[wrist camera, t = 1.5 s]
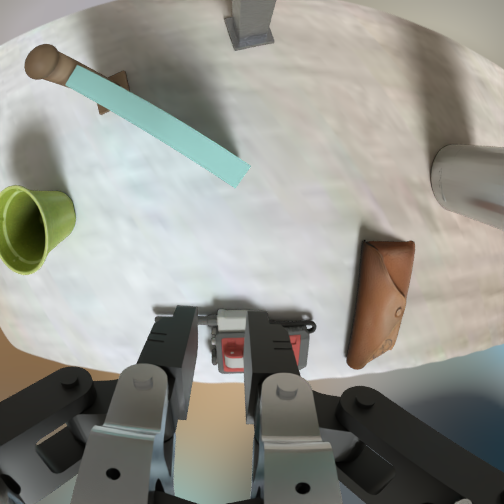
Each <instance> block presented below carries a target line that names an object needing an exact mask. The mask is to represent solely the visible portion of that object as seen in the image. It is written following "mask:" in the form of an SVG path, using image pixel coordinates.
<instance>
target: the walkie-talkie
mask: <svg viewBox="0 0 504 504" xmlns="http://www.w3.org/2000/svg"><path fill="white" fill-rule="evenodd" d="M246 315H247V310H225V309H218V315H208V316H198V325H208V326H216V325H217V327H215V328H212V335H215V336H216V337H215V338H212V345H215V346H216V349H213V350H212V364H213V365H217V363H218V370H219V372H220V373H222V374H229V373H244V361H243V353H244V338H245V326H246ZM162 317H166V316H157V317H155V322H157V321H158V320H160V319H161V318H162ZM169 318H173V317H169ZM268 319H269V318H268ZM269 324H281V325H282V326H283V327H284V328H285V330H286V331H287V332H288V333H289V337H290V340H291V344H292V347H293V351H294V355H295V358H296V362H297V365H298V369H299V370H301V369H303V368H304V367H306V365H307V356H308V348H309V334H310V333H313V332H314V331H315V330H316V325H315V323H314V322H313V321H294V322H293V321H291V322H289V321H287V322H275V321H271V320H269ZM306 325H312V328H310V329H307V327H306ZM216 350H217V351H216Z"/></svg>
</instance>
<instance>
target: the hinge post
mask: <svg viewBox="0 0 504 504" xmlns="http://www.w3.org/2000/svg"><path fill="white" fill-rule="evenodd" d="M77 65H79V66H81V67H83V68H85V69H87V70H89V71H91V72H93V73H95V74H97V75H99V76H101V77H103V78H105V79H107V80H109V81H110V82H112V83H114V84H116V85H118V86H120V87H122V88H124V89H125V90H127V91H129V92H130V90H129V85H128V81H127V77H126V72H125V71H124V70H123V71H121V72H119V73H117V74H115V75H113V76H110V77H108V78H107V77H105V76H104V75H102V74H100V73H98V72H97V71H95V70H93V69H91V68H89V67H87V66H85V65H84V64H82V63H80V62H78V61H76V60H74V59H72V58H70V57H68V56H66V55H64V54H63V53H61V52H59V51H58V50H57V49H56V48H55V47H54V46H53V45H50V44H42V45H39V46H37V47H35V48H34V49H33V50H32V51H31V52H30V53H29V54H28V56H27V58H26V60H25V72H26V74H27V75H28V76H29V77H30V78H32V79H36V80H39V79H44V80H47V81H50V82H53V83H56V84H59V85H62V86H65V87H68V86H66V85H65V84H66V83H67V81H68V79H69V78H70V76H71V74H72V73H73V71H74V69H75V68H76V66H77ZM68 88H69V87H68ZM97 105H98V109H99V114H101V115H102V114H105V113H107V112H109V111H110V110H109V109H107V108H105V107H103V106H102V105H100V104H98V103H97Z"/></svg>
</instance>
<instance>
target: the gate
mask: <svg viewBox="0 0 504 504" xmlns="http://www.w3.org/2000/svg"><path fill="white" fill-rule="evenodd" d="M65 85H66V86H68V87H69V88H71V89H73V90H75V91H77V92H79V93H80V94H82V95H84V96H86V97H87V98H89V99H91V100H93V101H95V102H96V103H98V104H100V105H102V106H103V107H105V108H107V109H109V110H110V111H112V112H114V113H115V114H117V115H119V116H121V117H122V118H124V119H126V120H127V121H129V122H131V123H132V124H134V125H136V126H137V127H139V128H141V129H142V130H144V131H146V132H147V133H149V134H151V135H152V136H154V137H156V138H157V139H159V140H160V141H162V142H164V143H165V144H167V145H169V146H170V147H172V148H173V149H175V150H177V151H178V152H180V153H181V154H183V155H185V156H186V157H188V158H189V159H191V160H192V161H194V162H196V163H197V164H199V165H200V166H202V167H203V168H205V169H206V170H208V171H209V172H211V173H213V174H214V175H216V176H217V177H219V178H220V179H222V180H223V181H225V182H226V183H228V184H229V185H231V186H232V187H234V188H236V187H237V185H238V184H239V183H240V181H241V180H242V178H243V177H244V175H245V174H246V173H247V171H248V170H249V168H250V167H251V166H250V165H249V164H247V163H246V162H244V161H243V160H241V159H240V158H238V157H237V156H235V155H234V154H232V153H231V152H229V151H227V150H226V149H224V148H223V147H221V146H220V145H218V144H217V143H215V142H214V141H212V140H210V139H209V138H207V137H206V136H204V135H202V134H201V133H199V132H198V131H196V130H194V129H193V128H191V127H190V126H188V125H186V124H185V123H183V122H181V121H180V120H178V119H176V118H175V117H173V116H171V115H170V114H168V113H166V112H164V111H163V110H161V109H159V108H158V107H156V106H154V105H152V104H151V103H149V102H147V101H145V100H144V99H142V98H140V97H138V96H136V95H135V94H133V93H131V92H129V91H127V90H125V89H124V88H122V87H120V86H118V85H116V84H114V83H112V82H110V81H109V80H107V79H105V78H103V77H101V76H99V75H97V74H95V73H93V72H91V71H89V70H87V69H85V68H83V67H81V66H79V65H77V66H76V68H75V69H74V71H73V73H72V74H71V76H70V78H69V79H68V81H67V83H66V84H65Z"/></svg>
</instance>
